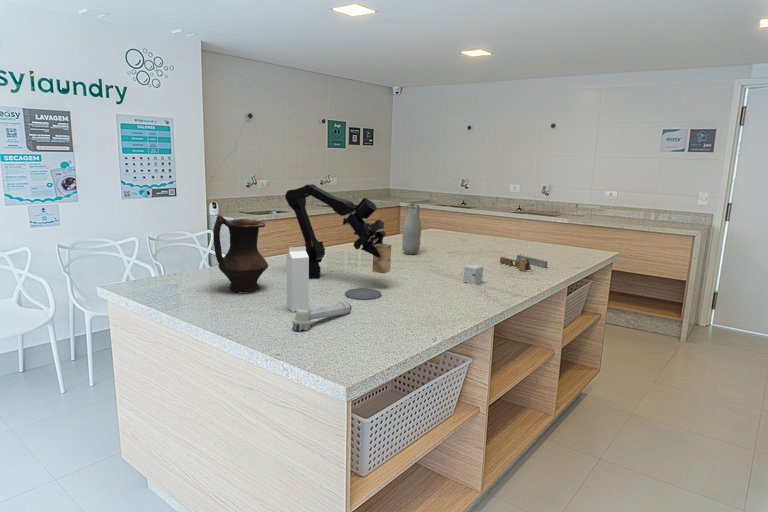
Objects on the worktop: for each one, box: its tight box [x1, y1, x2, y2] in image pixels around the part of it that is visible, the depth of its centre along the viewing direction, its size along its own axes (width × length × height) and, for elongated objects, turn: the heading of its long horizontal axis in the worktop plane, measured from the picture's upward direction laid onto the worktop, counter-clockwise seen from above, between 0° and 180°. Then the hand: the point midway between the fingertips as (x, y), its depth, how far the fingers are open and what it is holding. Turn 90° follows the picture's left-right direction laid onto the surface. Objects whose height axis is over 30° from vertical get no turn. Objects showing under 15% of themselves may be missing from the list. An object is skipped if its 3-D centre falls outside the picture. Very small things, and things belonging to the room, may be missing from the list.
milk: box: [285, 245, 310, 313], centre depth 176 cm, size 6×6×22 cm
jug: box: [212, 214, 269, 293], centre depth 197 cm, size 21×18×30 cm
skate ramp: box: [499, 253, 548, 272], centre depth 256 cm, size 29×35×8 cm
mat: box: [344, 287, 382, 301], centre depth 198 cm, size 14×14×1 cm
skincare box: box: [463, 264, 484, 285], centre depth 222 cm, size 6×6×7 cm
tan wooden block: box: [372, 243, 392, 275], centre depth 207 cm, size 5×5×11 cm
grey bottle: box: [401, 202, 422, 255], centre depth 280 cm, size 10×10×28 cm
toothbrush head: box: [291, 301, 352, 332], centre depth 166 cm, size 5×7×25 cm
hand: (382, 255), depth 207 cm, fingers closed on tan wooden block, 5 cm apart
